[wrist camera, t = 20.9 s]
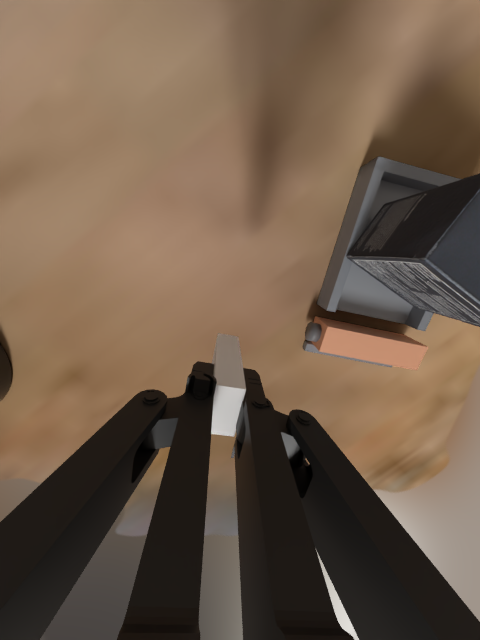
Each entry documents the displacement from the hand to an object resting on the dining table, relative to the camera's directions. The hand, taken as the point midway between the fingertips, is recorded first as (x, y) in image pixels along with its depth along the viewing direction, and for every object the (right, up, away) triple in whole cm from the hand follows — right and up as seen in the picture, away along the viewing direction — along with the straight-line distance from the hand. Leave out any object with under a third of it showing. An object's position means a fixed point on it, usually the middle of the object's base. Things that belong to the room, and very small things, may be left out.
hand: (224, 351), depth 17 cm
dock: (+17, +7, +11) cm, 22 cm away
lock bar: (+16, 0, +13) cm, 21 cm away
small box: (+18, +9, +7) cm, 21 cm away
